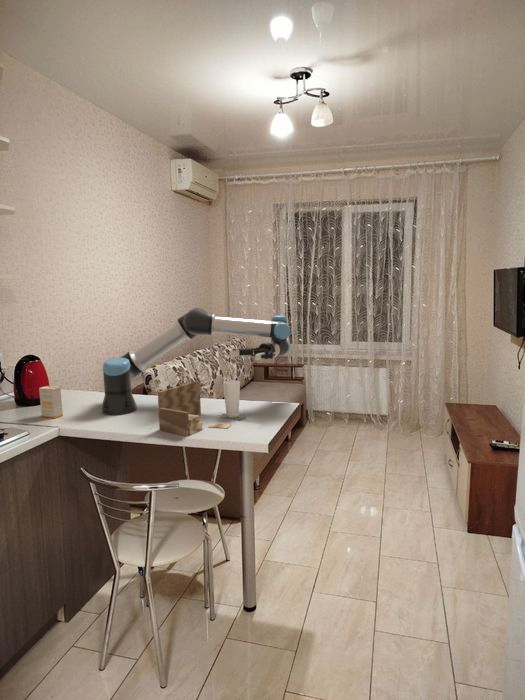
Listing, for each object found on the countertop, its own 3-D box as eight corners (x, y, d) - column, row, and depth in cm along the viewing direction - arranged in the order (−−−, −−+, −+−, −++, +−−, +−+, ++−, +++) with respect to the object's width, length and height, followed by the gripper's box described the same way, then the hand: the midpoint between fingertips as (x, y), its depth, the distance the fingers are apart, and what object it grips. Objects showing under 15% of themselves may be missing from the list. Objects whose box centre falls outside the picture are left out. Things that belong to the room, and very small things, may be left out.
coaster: (218, 415, 207) (218, 413, 206) (243, 413, 208) (243, 412, 208) (219, 422, 196) (219, 420, 196) (246, 420, 197) (246, 419, 197)
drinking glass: (224, 414, 205) (223, 380, 203) (240, 413, 205) (239, 379, 203) (224, 419, 198) (223, 383, 196) (240, 418, 199) (240, 383, 197)
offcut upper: (188, 420, 184) (188, 414, 184) (199, 421, 182) (199, 415, 182) (180, 424, 179) (179, 418, 179) (191, 426, 177) (191, 419, 177)
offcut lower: (190, 427, 186) (190, 419, 185) (202, 429, 182) (202, 422, 182) (178, 432, 180) (177, 424, 179) (190, 434, 176) (190, 426, 176)
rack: (198, 417, 203) (197, 380, 201) (226, 422, 196) (225, 384, 193) (157, 433, 183) (155, 392, 180) (186, 439, 175) (185, 397, 173)
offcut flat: (231, 429, 187) (231, 424, 187) (227, 432, 183) (227, 427, 183) (212, 428, 189) (212, 423, 189) (208, 431, 185) (208, 426, 185)
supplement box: (63, 415, 209) (61, 386, 208) (54, 418, 205) (52, 389, 203) (50, 414, 213) (47, 385, 211) (41, 416, 209) (38, 387, 207)
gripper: (291, 360, 216) (267, 367, 198) (246, 356, 229) (219, 362, 212) (292, 344, 215) (267, 349, 197) (246, 340, 228) (219, 345, 211)
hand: (242, 356), depth 204 cm, fingers open, 13 cm apart
